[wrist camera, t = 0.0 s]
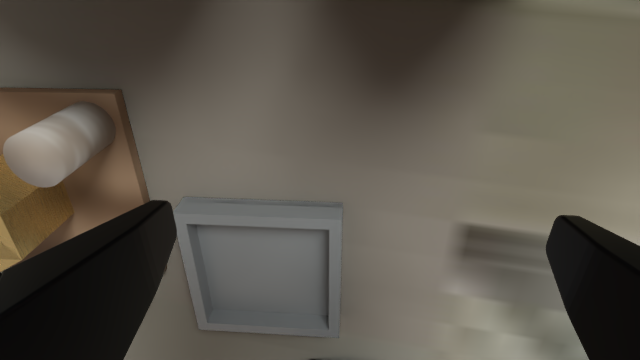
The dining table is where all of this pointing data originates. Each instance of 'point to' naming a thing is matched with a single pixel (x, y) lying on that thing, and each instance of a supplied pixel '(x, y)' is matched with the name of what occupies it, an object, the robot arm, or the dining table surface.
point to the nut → (27, 214)
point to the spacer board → (96, 174)
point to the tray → (263, 264)
